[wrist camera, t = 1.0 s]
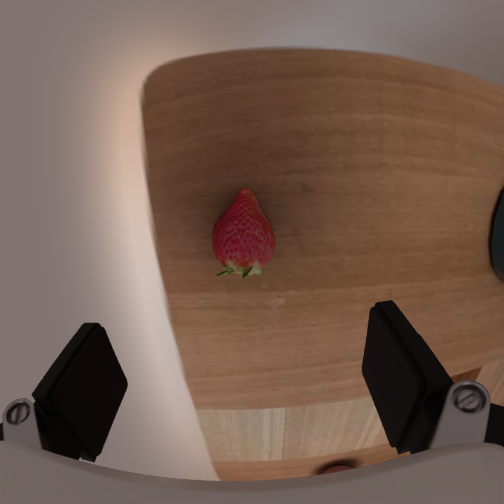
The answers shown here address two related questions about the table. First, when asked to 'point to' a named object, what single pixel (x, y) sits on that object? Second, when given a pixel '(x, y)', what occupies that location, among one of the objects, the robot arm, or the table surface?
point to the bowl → (498, 241)
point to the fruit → (243, 237)
